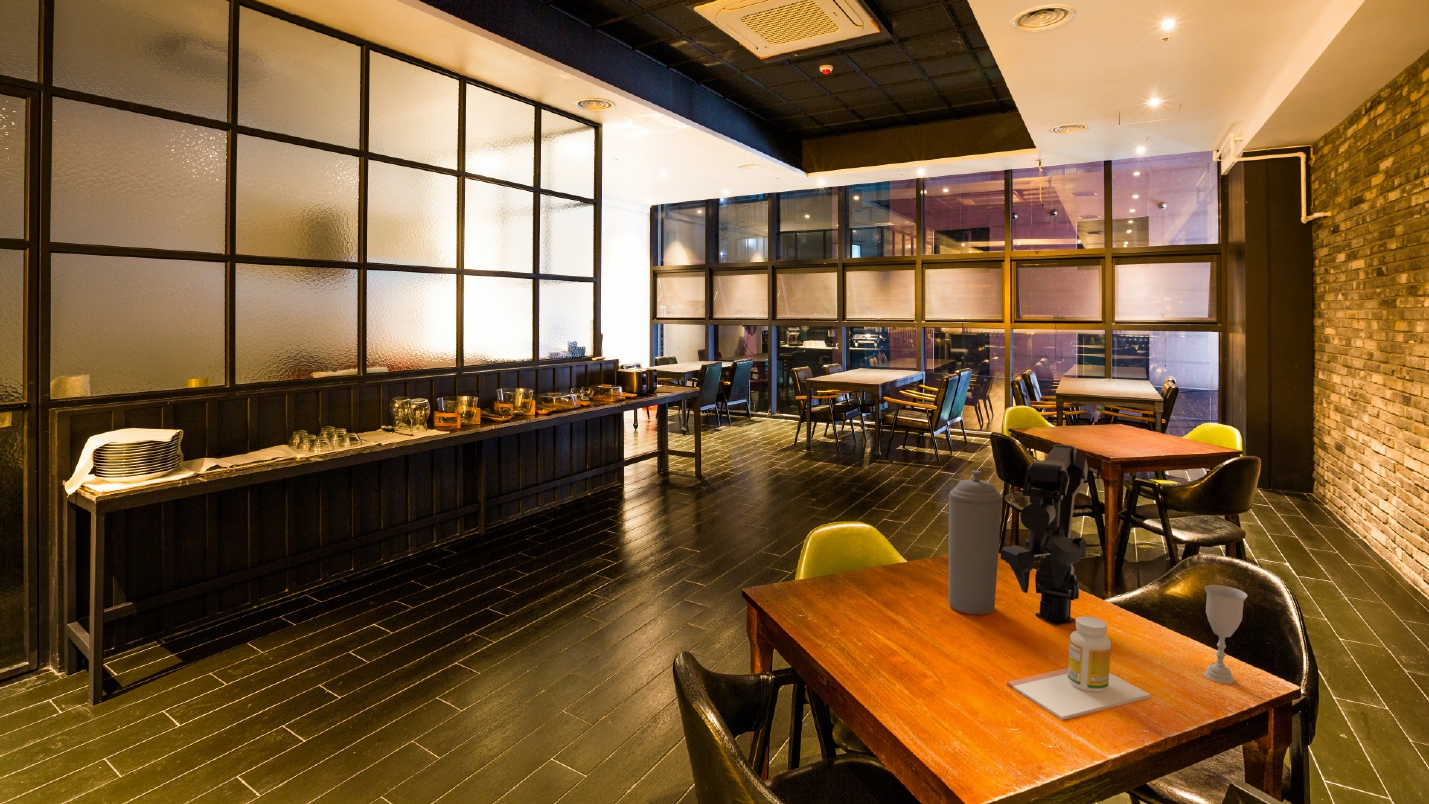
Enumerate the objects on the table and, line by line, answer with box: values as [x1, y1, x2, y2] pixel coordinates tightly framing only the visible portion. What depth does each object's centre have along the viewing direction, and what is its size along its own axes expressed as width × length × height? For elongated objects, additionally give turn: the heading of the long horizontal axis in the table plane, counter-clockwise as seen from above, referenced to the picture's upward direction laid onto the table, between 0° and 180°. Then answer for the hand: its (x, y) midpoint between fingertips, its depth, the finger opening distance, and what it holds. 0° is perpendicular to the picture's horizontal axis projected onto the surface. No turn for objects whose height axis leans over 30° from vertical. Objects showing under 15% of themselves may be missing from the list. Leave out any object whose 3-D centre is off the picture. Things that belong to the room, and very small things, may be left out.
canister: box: [948, 470, 1004, 616], centre depth 180 cm, size 13×13×35 cm
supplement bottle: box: [1067, 615, 1112, 692], centre depth 141 cm, size 7×7×13 cm
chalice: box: [1203, 584, 1248, 685], centre depth 144 cm, size 7×7×18 cm
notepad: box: [1006, 667, 1151, 721], centre depth 140 cm, size 22×14×1 cm, turn 110°
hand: (1041, 589), depth 158 cm, fingers open, 9 cm apart
